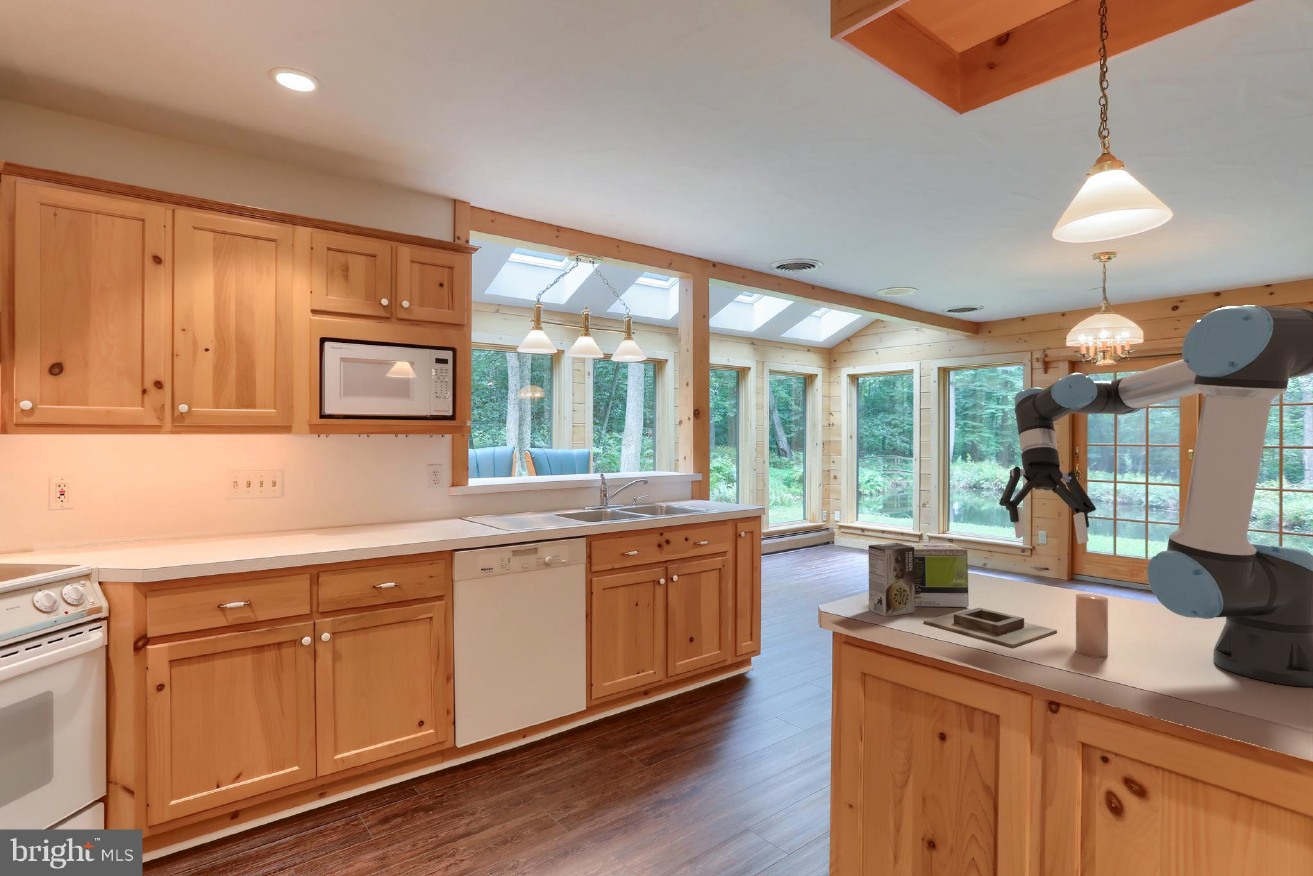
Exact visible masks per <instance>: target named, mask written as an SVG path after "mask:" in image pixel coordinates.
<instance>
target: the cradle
mask: <svg viewBox="0 0 1313 876" xmlns="http://www.w3.org/2000/svg"><path fill="white" fill-rule="evenodd" d="M922 623H923V624H926V625H930V626H933V627H936V628H941V629H944V630H947V631H950V632H955V633H958V634H962V635H966V636H969V637H971V638H972V637H973V638H976V639H979V640H983V641H987V642H991V643H995V644H999V645H1002V646H1006V647H1008V648H1016V647H1019V646H1022V645H1025V644H1027V643H1028V644H1029V643H1031V642H1033V641H1037V640H1039V639H1042V638H1045V636H1046V637H1049V636H1051V635H1055V634H1057V633H1058V631H1057V629H1054V628H1050V627H1046V626H1042V625H1038V624H1037V625H1036V624H1033V623H1029V622H1025V617H1020V616H1016V615H1012V614H1008V613H1004V612H1000V611H994V610H992V609H991V610H990V609H987V608H981V607H976V608H972V609H971V608H967V609H963V610H959V611H955V612H951V613H946V614H943V615H939V616H936V617H932V618H928V619H925V620H923V622H922Z"/></svg>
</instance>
